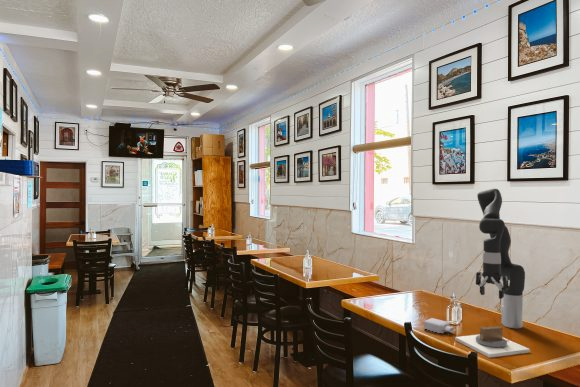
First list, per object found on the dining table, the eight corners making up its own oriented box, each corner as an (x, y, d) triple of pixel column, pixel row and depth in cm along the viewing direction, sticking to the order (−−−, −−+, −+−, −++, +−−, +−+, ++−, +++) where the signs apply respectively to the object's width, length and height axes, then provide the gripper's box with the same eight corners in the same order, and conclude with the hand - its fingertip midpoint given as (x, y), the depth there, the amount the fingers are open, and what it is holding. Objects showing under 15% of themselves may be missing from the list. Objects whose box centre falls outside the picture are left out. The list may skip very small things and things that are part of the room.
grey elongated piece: (451, 337, 204) (423, 330, 215) (460, 333, 210) (433, 326, 221) (451, 328, 204) (423, 320, 215) (460, 324, 210) (433, 317, 221)
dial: (487, 348, 185) (488, 333, 185) (469, 338, 198) (469, 324, 198) (513, 346, 187) (513, 331, 187) (494, 336, 200) (494, 322, 200)
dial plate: (455, 340, 200) (455, 336, 200) (492, 336, 206) (492, 332, 206) (489, 357, 179) (489, 353, 179) (529, 352, 185) (529, 348, 185)
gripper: (472, 260, 196) (472, 294, 196) (503, 264, 184) (503, 301, 184) (481, 258, 200) (481, 292, 200) (511, 263, 189) (511, 298, 189)
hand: (491, 296), depth 192 cm, fingers open, 8 cm apart
